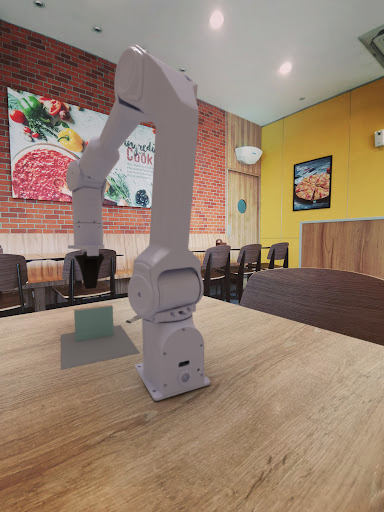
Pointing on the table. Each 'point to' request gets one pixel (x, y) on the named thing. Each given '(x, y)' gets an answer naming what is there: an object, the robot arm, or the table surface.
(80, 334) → the tile
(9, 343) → the table surface
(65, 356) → the mat
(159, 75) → the robot arm
